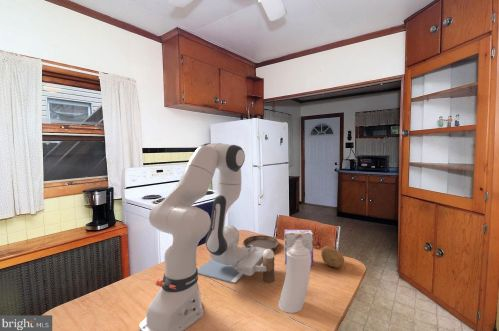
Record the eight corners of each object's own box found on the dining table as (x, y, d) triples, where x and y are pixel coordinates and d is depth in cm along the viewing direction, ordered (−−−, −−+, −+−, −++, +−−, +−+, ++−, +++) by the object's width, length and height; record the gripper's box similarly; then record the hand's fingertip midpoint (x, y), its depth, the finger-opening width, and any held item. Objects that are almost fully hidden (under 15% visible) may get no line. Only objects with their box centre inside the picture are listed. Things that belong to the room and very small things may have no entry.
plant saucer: (260, 258, 130) (260, 252, 130) (235, 247, 145) (235, 241, 145) (285, 247, 144) (285, 241, 144) (260, 237, 159) (260, 232, 159)
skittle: (271, 284, 106) (271, 252, 105) (261, 281, 108) (260, 250, 107) (275, 278, 111) (275, 248, 109) (265, 275, 113) (265, 246, 112)
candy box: (311, 260, 127) (311, 229, 126) (313, 266, 121) (313, 233, 120) (284, 259, 129) (284, 228, 127) (284, 265, 123) (284, 232, 121)
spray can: (289, 291, 101) (290, 232, 98) (314, 302, 94) (315, 238, 92) (274, 306, 92) (273, 241, 89) (299, 319, 85) (300, 249, 83)
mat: (235, 283, 107) (235, 282, 107) (194, 273, 116) (194, 271, 116) (252, 265, 123) (252, 263, 123) (215, 256, 132) (215, 255, 132)
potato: (331, 274, 114) (331, 257, 113) (316, 260, 128) (316, 245, 127) (350, 271, 116) (350, 255, 115) (333, 258, 129) (334, 243, 129)
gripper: (231, 261, 105) (261, 267, 99) (251, 243, 123) (277, 248, 117) (231, 275, 105) (261, 282, 99) (251, 255, 124) (277, 260, 118)
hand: (270, 264), depth 108 cm, fingers open, 8 cm apart
